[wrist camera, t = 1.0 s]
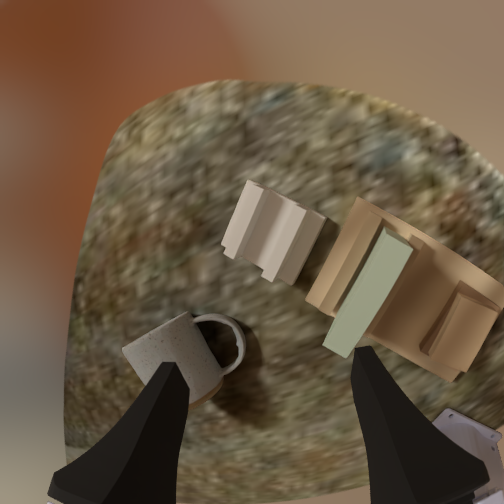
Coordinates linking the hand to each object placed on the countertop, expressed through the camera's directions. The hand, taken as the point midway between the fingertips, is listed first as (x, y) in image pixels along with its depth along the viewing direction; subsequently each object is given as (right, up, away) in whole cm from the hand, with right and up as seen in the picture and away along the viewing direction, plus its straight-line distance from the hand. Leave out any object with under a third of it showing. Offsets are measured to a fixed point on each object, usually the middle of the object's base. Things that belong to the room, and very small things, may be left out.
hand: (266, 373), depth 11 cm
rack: (+12, +1, +9) cm, 15 cm away
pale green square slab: (+8, +3, +10) cm, 13 cm away
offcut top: (+15, -1, +6) cm, 16 cm away
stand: (+1, +7, +13) cm, 15 cm away
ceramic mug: (-5, -5, +18) cm, 20 cm away
